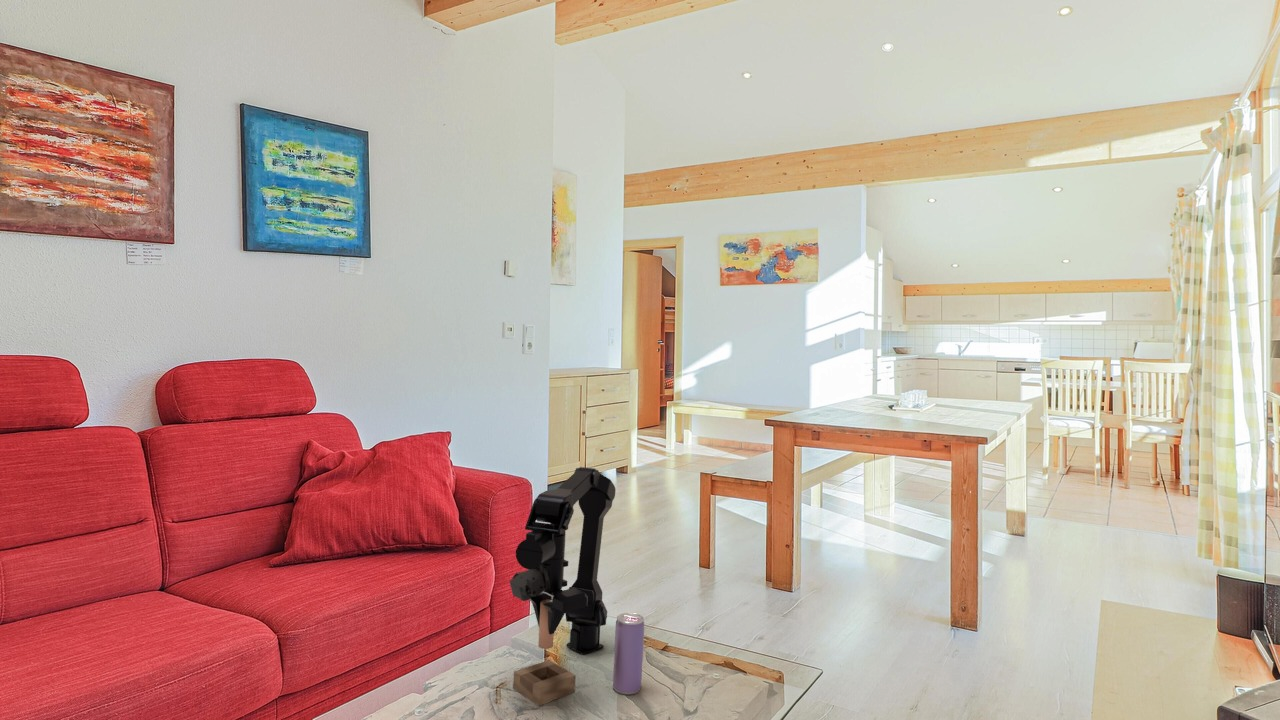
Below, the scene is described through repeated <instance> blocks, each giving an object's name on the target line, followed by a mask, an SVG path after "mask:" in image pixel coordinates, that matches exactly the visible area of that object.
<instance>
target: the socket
mask: <svg viewBox="0 0 1280 720" xmlns="http://www.w3.org/2000/svg"><path fill="white" fill-rule="evenodd" d="M512 683H513V684H512V686H513V687H512V689H513V690H515V691H516V692H518V693H520V694H521V695H523V696H524V697H526V698H527V699H528V700H530V701H531V702H533V703H535V704H536V705H537V706H541V705H545V704H547V703H550V702H552V701H555V700H557V699H560V698H563V697H566V696H568V695H571V694H573V693H575V691H576V674H575V673H573V672H571V671H569V670H567V669H566V668H564V667H562V666H561V665H559V664H557V663H555V662H554V661H552V660H550V659H548V660H545V661H542V662H539V663H535V664H532V665H530V666H527V667H523V668H520V669H518V670H517V669H516V670H514V671H513V682H512Z"/></svg>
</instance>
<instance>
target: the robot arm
mask: <svg viewBox="0 0 1280 720" xmlns="http://www.w3.org/2000/svg"><path fill="white" fill-rule="evenodd" d="M615 497H616V487H615V485H614V483H613V482H612V480H611V479H610V478H608V477H606V476H605V475H603V474H601V472H600V471H599V470H598V469H597V468H595V467H594V468H593V467H582V466H579V467H576V468H575V470H574V473H572V475H571V476H569V477H568V478H567V479H566V480H565V481H564V482H563V483H562V484H561V485H559V487H557V488H555V489H549V490H548V489H547V490H545V491H543V492H541V493H539V494H538V495H537V497H536V498H535V499H534V501H533V503H532V505H531V506H532V507H531V509H530V512H529V515H528V518H527V520H526V521H527V522H526V524H525V527H524V529H525V531H526V530H527V531H528V532H527V533H526V534H525V539H524V540H522V541H521V542H520V543H519V544H518V545H517V547H516V549H515V557H516V561H517V563H518V564H519V566H521V567H522V568H523V569H525V570H524V571H521V572H520V571H519V572H516V573H515V574H514V575H513V577H511V579H510V580H509V584H510V589H511V593H512V595H513V597H514V598H517V599H519V600H520V601H523V602H526V601H530V602H531V604H532V607H533V610H534V613H535V614H534V615H535V618H536V622H537V626H538V627H539V622H540V602H541V601H542V600H550V602H548V603H544V604H543V605H544V606H545V607H546V609H547V610H548V630H549V634H554V635H555V632H556V630H557V629H558V627H559V625H560V623H561V621H562V619H563V617H564V615H565V621H566V622H568V623H571V628H570V630H569V631H570V633H569V642H566V647H568V648H569V649H571V650H573V651H576V652H577V653H579V654H580V655H583V656H584V655H587V654H590V653H593V652H595V651H599V650H602V649H604V648H605V647H604V644H602V643H600V639H601V637H600V636H601V635H600V634H601V627H602V626H606V625H607V619H608V610H607V608H606V605H605V603H604V602H603V590H602V588H601V586H600V583H599V581H598V576H599V575H598V573H599V565H600V564H599V563H600V557H601V555H600V554H601V547H602V545H601V544H602V537H603V526H604V519H605V516H606V515H607V514H608V513H609V511H610V510H611V509H612V507H613V501H614V499H615ZM577 502H578V506H579V509H580V510H581V513H582V515H583V521H582V522H583V523H582V528H581V529H582V531H581V540H580V546H579V547H580V549H579V557H578V566H577V577H576V579H575V581H574V583H573V584H571V586H569V588H568V589H563V588H565V587H568V580H566V579H564V575H565V574H564V568H565V567H566V568H567V567H569V560H566V559H565V554H566V534H567V533H566V531H568V530H569V525H570V523H571V520H572V517H573V515H574V511H575V509H574V506H575V504H577Z"/></svg>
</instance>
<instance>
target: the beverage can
mask: <svg viewBox="0 0 1280 720" xmlns="http://www.w3.org/2000/svg"><path fill="white" fill-rule="evenodd" d="M644 619H645V618H644V616H643V615H641V614H639V613H636V612H623V613H621V614H618V615H617V616H616V621H615V631H614V632H615V635H614V651H613V652H614V653H613V654H614V655H613V674H612V687H613V689H614V691H615V692H617V693H619V694H621V695H625V696H626V695H629V696H630V695H634V694H637V693H638V692H639V691H640V689H642V678H643V660H644V641H645V639H644V638H645V620H644Z"/></svg>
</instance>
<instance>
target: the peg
mask: <svg viewBox="0 0 1280 720" xmlns="http://www.w3.org/2000/svg"><path fill="white" fill-rule="evenodd" d="M548 602H550V600H542V601H541V602H540V622H539V626H538V642H537V643H538V645H537V647H538V648H540V649H544V650H549V649H552V648H553V647H554V635H555V633H554V634H549V630H548V610H547V609H546V607H545V606H544V605H543V604H544V603H548Z"/></svg>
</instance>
